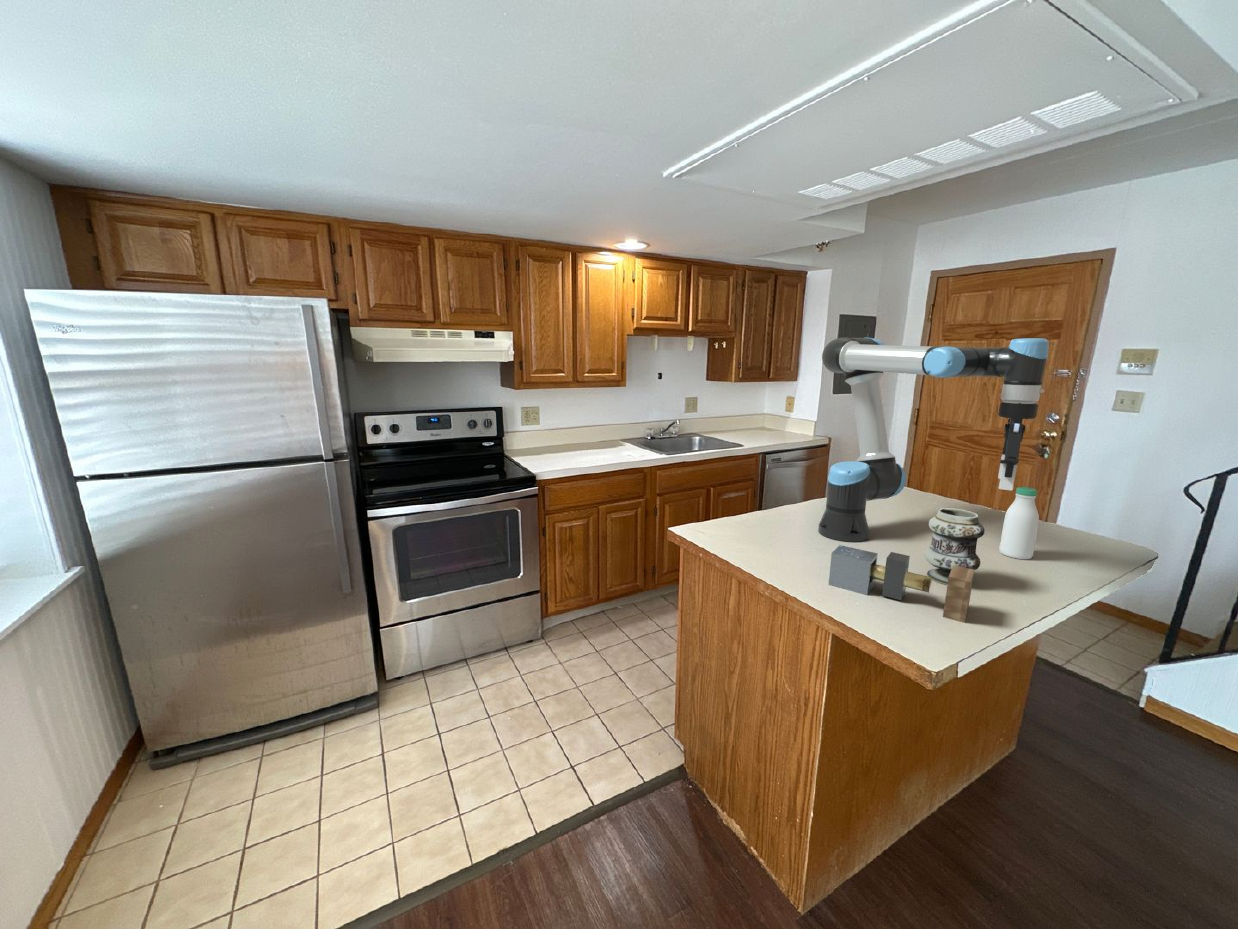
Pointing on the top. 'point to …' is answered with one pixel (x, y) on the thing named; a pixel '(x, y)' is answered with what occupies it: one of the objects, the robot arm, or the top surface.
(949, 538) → the apothecary jar
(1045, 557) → the top surface
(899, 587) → the tube
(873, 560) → the sleeve
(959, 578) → the socket block
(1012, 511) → the milk bottle
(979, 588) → the top surface
